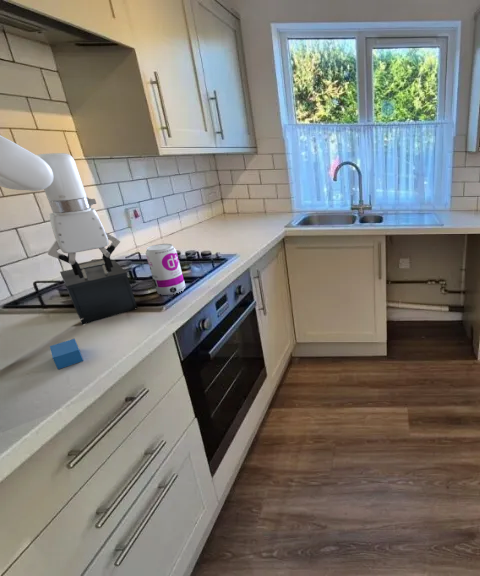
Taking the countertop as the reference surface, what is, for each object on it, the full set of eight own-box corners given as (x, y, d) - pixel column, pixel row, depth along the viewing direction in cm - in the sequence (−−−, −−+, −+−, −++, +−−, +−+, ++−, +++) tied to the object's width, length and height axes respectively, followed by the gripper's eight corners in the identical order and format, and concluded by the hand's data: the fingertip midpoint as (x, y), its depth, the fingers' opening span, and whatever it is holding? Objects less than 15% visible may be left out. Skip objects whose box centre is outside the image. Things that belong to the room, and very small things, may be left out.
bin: (138, 308, 106) (126, 274, 101) (82, 324, 97) (67, 288, 93) (126, 294, 115) (115, 262, 111) (74, 308, 107) (60, 274, 102)
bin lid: (127, 275, 101) (121, 256, 99) (67, 288, 92) (60, 269, 90) (115, 262, 111) (109, 245, 109) (60, 274, 102) (53, 256, 100)
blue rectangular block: (83, 360, 81) (78, 349, 80) (57, 369, 78) (52, 358, 77) (78, 349, 86) (74, 338, 85) (54, 357, 83) (49, 346, 82)
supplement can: (191, 288, 119) (180, 244, 113) (168, 298, 112) (155, 252, 106) (175, 284, 122) (163, 242, 116) (151, 294, 115) (138, 249, 109)
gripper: (108, 199, 98) (129, 262, 105) (23, 209, 87) (52, 279, 94) (114, 202, 93) (135, 268, 100) (25, 213, 82) (55, 286, 89)
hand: (95, 273), depth 97 cm, fingers closed on bin lid, 5 cm apart
